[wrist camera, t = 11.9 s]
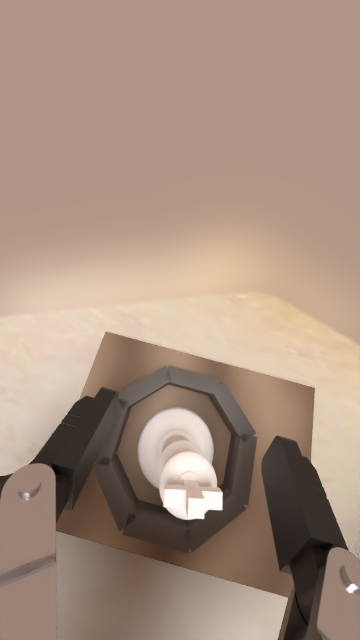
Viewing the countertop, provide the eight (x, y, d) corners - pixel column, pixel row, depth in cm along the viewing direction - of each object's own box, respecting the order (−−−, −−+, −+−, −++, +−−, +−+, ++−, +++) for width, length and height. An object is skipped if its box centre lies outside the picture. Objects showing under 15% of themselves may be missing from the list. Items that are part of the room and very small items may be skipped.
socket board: (47, 509, 16) (11, 542, 12) (111, 338, 20) (99, 322, 16) (285, 577, 15) (325, 633, 12) (299, 389, 20) (332, 385, 16)
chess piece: (142, 404, 16) (116, 402, 7) (213, 409, 17) (281, 414, 7) (132, 489, 15) (81, 635, 5) (211, 493, 15) (296, 642, 6)
